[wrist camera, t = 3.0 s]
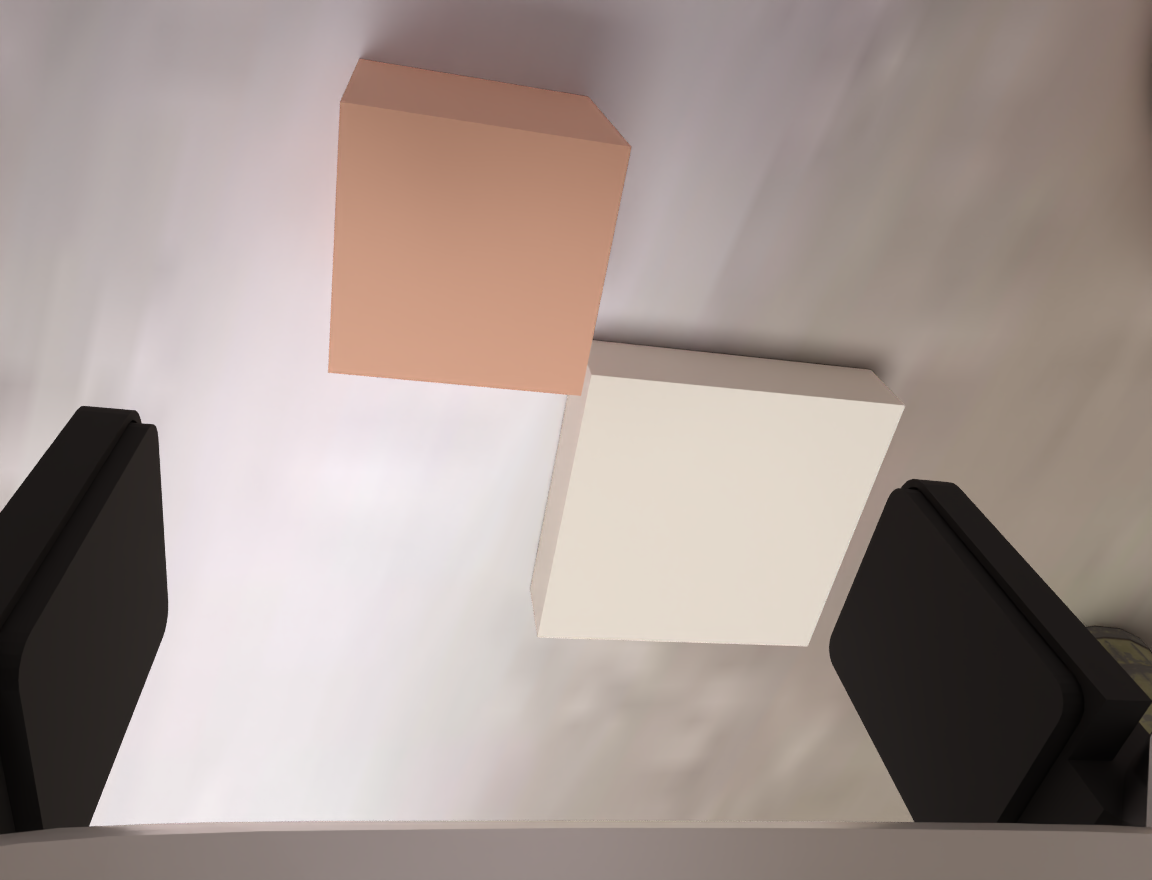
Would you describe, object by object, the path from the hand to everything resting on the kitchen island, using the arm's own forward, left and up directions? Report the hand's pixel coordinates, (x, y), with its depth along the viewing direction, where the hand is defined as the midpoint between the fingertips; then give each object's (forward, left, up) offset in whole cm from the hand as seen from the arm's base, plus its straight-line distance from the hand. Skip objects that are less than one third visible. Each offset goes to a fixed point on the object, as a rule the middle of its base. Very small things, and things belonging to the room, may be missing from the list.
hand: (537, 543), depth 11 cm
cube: (0, 0, -16) cm, 16 cm away
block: (+9, +9, -16) cm, 20 cm away
